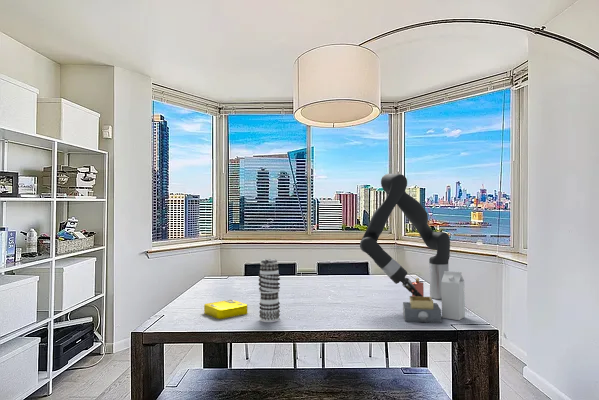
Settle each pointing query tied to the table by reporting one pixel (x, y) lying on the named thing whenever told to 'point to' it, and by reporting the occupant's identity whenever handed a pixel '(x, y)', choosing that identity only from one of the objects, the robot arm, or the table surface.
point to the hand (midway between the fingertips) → (422, 298)
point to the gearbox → (421, 310)
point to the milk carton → (453, 295)
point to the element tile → (225, 309)
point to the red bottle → (418, 287)
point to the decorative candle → (269, 290)
